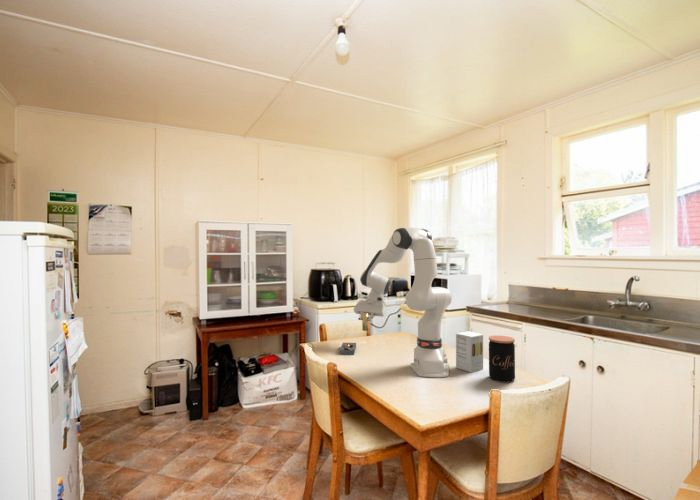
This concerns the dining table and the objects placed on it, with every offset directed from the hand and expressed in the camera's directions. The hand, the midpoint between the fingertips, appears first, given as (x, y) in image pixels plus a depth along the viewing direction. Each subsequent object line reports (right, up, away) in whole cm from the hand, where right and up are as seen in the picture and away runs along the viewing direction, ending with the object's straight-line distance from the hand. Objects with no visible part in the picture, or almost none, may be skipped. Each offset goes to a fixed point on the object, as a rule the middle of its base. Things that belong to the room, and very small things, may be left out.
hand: (364, 320), depth 205 cm
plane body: (-10, -17, -2) cm, 20 cm away
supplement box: (+49, -17, -34) cm, 62 cm away
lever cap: (0, -6, +1) cm, 6 cm away
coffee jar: (+59, -17, -48) cm, 78 cm away
